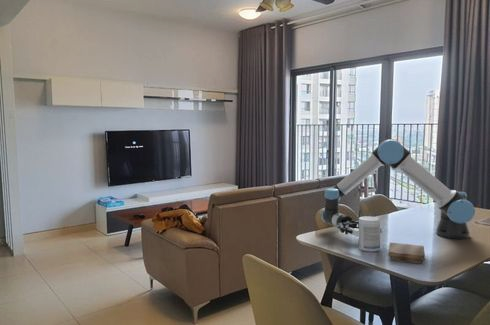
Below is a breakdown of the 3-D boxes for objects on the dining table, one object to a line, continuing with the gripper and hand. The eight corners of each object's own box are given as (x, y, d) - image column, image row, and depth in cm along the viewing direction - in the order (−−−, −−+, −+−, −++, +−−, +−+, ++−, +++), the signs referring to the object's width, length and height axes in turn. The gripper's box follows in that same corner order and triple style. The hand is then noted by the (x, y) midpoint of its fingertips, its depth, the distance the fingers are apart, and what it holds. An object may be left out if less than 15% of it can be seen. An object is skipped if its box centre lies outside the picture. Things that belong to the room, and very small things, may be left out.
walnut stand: (423, 254, 165) (423, 245, 164) (424, 265, 152) (424, 255, 151) (389, 250, 170) (389, 242, 170) (388, 261, 157) (388, 251, 157)
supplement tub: (384, 249, 172) (384, 218, 171) (371, 253, 167) (371, 221, 165) (367, 244, 180) (367, 214, 179) (354, 248, 175) (354, 217, 173)
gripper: (362, 226, 196) (391, 236, 177) (321, 231, 187) (347, 243, 168) (362, 212, 196) (391, 221, 176) (321, 217, 187) (347, 227, 167)
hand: (370, 232), depth 172 cm, fingers open, 13 cm apart
